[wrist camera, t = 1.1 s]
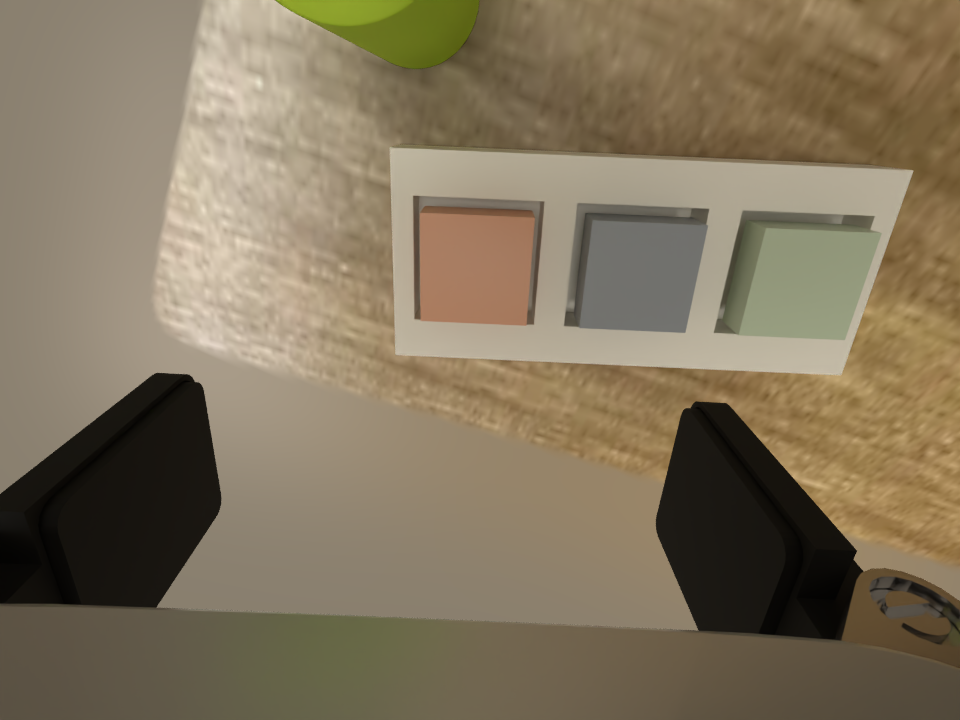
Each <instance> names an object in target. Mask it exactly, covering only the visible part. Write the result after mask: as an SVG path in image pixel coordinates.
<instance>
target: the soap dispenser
mask: <svg viewBox="0 0 960 720" xmlns="http://www.w3.org/2000/svg"><path fill="white" fill-rule="evenodd" d="M275 1H277V2H278V3H279V4H281V5H282V6H284V7H285V8H287V9H289V10H290V11H292V12H294V13H296V14H298V15H299V16H301V17H303V18H305V19H307V20H309V21H311V22H313V23H315V24H317V25H319V26H321V27H323V28H325V29H326V30H328V31H330V32H332V33H334V34H336V35H338V36H340V37H342V38H344V39H346V40H348V41H350V42H352V43H354V44H355V45H357V46H359V47H361V48H363V49H365V50H367V51H369V52H371V53H373V54H375V55H377V56H379V57H381V58H383V59H384V60H386V61H388V62H390V63H392V64H395V65H397V66H401V67H405V68H411V69H421V68H428V67H432V66H435V65H438V64H440V63H442V62H444V61H446V60H447V59H449V58H450V57H451V56H453V55H454V54H455V53H456V52H457V51H458V50H459V49H460V48H461V47H462V45H463V44H464V43H465V41H466V40H467V38H468V36H469V35H470V33H471V31H472V28H473V26H474V23H475V20H476V17H477V13H478V8H479V0H275Z"/></svg>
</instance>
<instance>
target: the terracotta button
mask: <svg viewBox="0 0 960 720" xmlns="http://www.w3.org/2000/svg"><path fill="white" fill-rule="evenodd" d="M534 224H535V217H534V214H533V212H532V210H511V209H489V208H466V207H444V206H425V207H424V208H423V209H422V211H421V212H420V310H421V321H433V322H455V323H477V324H499V325H521V326H526V324H527V311H528V299H529V287H530V274H531V262H532V249H533V237H534Z"/></svg>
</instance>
